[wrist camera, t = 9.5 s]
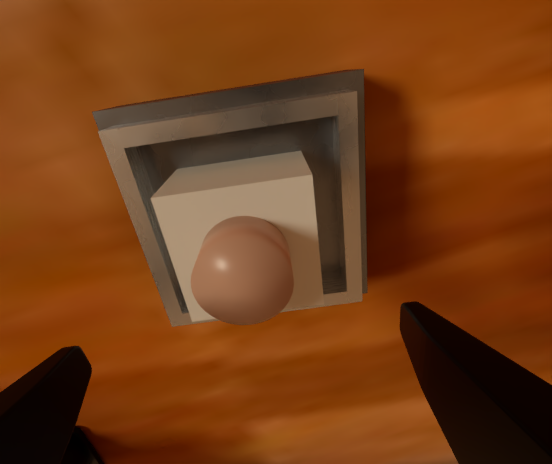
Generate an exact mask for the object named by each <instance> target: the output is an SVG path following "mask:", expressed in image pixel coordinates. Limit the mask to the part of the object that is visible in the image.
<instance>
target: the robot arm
mask: <svg viewBox="0 0 552 464" xmlns="http://www.w3.org/2000/svg"><path fill="white" fill-rule="evenodd" d="M400 331H401V335H402V338H403V340H404V343H405V346H406V349H407V351H408V354H409V357H410V359H411V362H412V365H413V368H414V370H415V373H416V376H417V378H418V381H419V383H420V386H421V388H422V391H423V393H424V395H425V397H426V399H427V401H428V403H429V405H430V407H431V409H432V411H433V413H434V415H435V417H436V419H437V421H438V423H439V425H440V427H441V429H442V431H443V433H444V435H445V437H446V439H447V441H448V443H449V445H450V447H451V449H452V451H453V453H454V455H455V457H456V459H457V461H458V463H459V464H552V385H551V384H549V383H547V382H546V381H544V380H543V379H541V378H539V377H538V376H536V375H535V374H533V373H531V372H530V371H528V370H527V369H525V368H523V367H522V366H520V365H519V364H517V363H515V362H514V361H512V360H511V359H509V358H507V357H506V356H504V355H503V354H501V353H499V352H498V351H496V350H495V349H493V348H491V347H490V346H488V345H487V344H485V343H483V342H482V341H480V340H478V339H477V338H475V337H474V336H472V335H470V334H469V333H467V332H466V331H464V330H462V329H461V328H459V327H458V326H456V325H454V324H453V323H451V322H450V321H448V320H446V319H445V318H443V317H442V316H440V315H438V314H437V313H435V312H434V311H432V310H430V309H429V308H427V307H426V306H424V305H422V304H421V303H419V302H407V303H403V304H402V305H401V310H400ZM91 372H92V368H91V364H90V363H89V361H88V359H87V357H86V356H85V354H84V352H83V350H82V349H81V348H80V347H79V346H70V347H64V348H61V349H60V350H58V351H57V352H56V353H54V354H53V355H51V356H50V357H49V358H47V359H46V360H45V361H43V362H42V363H40V364H39V365H38V366H36V367H35V368H33V369H32V370H31V371H29V372H28V373H27V374H25V375H24V376H22V377H21V378H20V379H18V380H17V381H16V382H14V383H13V384H11V385H10V386H9V387H7V388H6V389H4V390H3V391H2V392H0V464H104V463H103V462H102V460H101V459H100V457H99V456H98V454H97V453H96V451H95V450H94V449H93V447H92V446H91V444H90V443H89V441H88V440H87V438H86V437H85V435H84V434H83V432H82V431H81V430H80V429H79V428H74V427H75V425H76V422H77V419H78V415H79V412H80V409H81V406H82V403H83V399H84V396H85V393H86V390H87V386H88V383H89V380H90V377H91Z"/></svg>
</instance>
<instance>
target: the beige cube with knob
mask: <svg viewBox="0 0 552 464" xmlns="http://www.w3.org/2000/svg"><path fill="white" fill-rule="evenodd" d="M151 201H152V204H153V207H154V210H155V213H156V216H157V219H158V222H159V225H160V228H161V231H162V234H163V237H164V240H165V243H166V246H167V249H168V252H169V255H170V258H171V261H172V263H173V266H174V269H175V272H176V275H177V278H178V281H179V284H180V287H181V290H182V293H183V296H184V299H185V302H186V305H187V308H188V311H189V314H190V317H191V320H192V322H195V321H202V320H210V319H218V320H220V321H223V322H226V323H231V324H237V325H250V324H256V323H260V322H264V321H266V320H268V319H270V318H272V317H274V316H276V315H277V314H278V313H280V312H281V311H282V310H285V309H293V308H300V307H308V306H315V305H323V304H324V297H323V286H322V275H321V264H320V253H319V242H318V231H317V220H316V209H315V198H314V187H313V176H312V173H311V171H310V169H309V166H308V164H307V162H306V160H305V158H304V156H303V154H302V152H301V151H295V152H288V153H281V154H275V155H268V156H261V157H254V158H248V159H241V160H234V161H227V162H221V163H214V164H207V165H200V166H194V167H187V168H180V169H177V170H176V171H175V172H174V173H173V174H172V175H171V176H170V177H169V178H168V179H167V181H166V182H165V183H164V184H163V185H162V186H161V187H160V188H159V189H158V190H157V192H156V193H155V194H154V195H153V196H152V197H151Z"/></svg>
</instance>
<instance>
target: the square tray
mask: <svg viewBox="0 0 552 464" xmlns="http://www.w3.org/2000/svg"><path fill="white" fill-rule="evenodd" d="M92 113H93V116H94V118H95V121H96V124H97V126H98V129H99V131H98V133H99V136H100V139H101V141H102V144H103V146H104V149H105V152H106V154H107V157H108V160H109V162H110V165H111V167H112V170H113V173H114V175H115V178H116V181H117V183H118V186H119V188H120V191H121V194H122V196H123V199H124V202H125V204H126V207H127V210H128V212H129V215H130V217H131V220H132V223H133V225H134V228H135V231H136V233H137V236H138V238H139V241H140V244H141V246H142V249H143V252H144V254H145V257H146V259H147V262H148V265H149V267H150V270H151V273H152V275H153V278H154V280H155V283H156V286H157V288H158V291H159V294H160V296H161V299H162V301H163V304H164V307H165V309H166V312H167V315H168V317H169V320H170V323H171V325H172V327H173V326H181V325H188V324H196V323H203V322H211V321H218V319H210V320H202V321H195V322H192V320H191V317H190V314H189V311H188V308H187V305H186V302H185V299H184V296H183V293H182V290H181V287H180V284H179V281H178V278H177V275H176V272H175V269H174V266H173V263H172V261H171V258H170V255H169V252H168V249H167V246H166V243H165V240H164V237H163V234H162V231H161V228H160V225H159V222H158V219H157V216H156V213H155V210H154V207H153V204H152V201H151V197H152V196H153V195H154V194H155V193H156V192H157V190H158V189H159V188H160V187H161V186H162V185H163V184H164V183H165V182H166V181H167V179H168V178H169V177H170V176H171V175H172V174H173V173H174V172H175V171H176V170H177V169H180V168H187V167H194V166H200V165H207V164H214V163H221V162H227V161H234V160H241V159H248V158H254V157H261V156H268V155H275V154H281V153H288V152H295V151H301V152H302V154H303V156H304V158H305V160H306V162H307V164H308V166H309V169H310V171H311V173H312V176H313V187H314V198H315V209H316V220H317V231H318V242H319V253H320V264H321V275H322V286H323V297H324V304H323V305H315V306H308V307H300V308H293V309H285V310H282V311H281V312H286V311H293V310H301V309H308V308H315V307H323V306H330V305H338V304H345V303H353V302H360V301H362V293H367V240H366V178H365V115H364V69H354V70H343V71H337V72H330V73H324V74H318V75H311V76H305V77H299V78H292V79H286V80H280V81H273V82H267V83H261V84H254V85H248V86H242V87H235V88H229V89H223V90H216V91H210V92H204V93H197V94H191V95H185V96H178V97H172V98H166V99H159V100H153V101H147V102H140V103H134V104H128V105H121V106H116V107H112V108H108V109H103V110H99V111H94V112H92Z"/></svg>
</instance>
